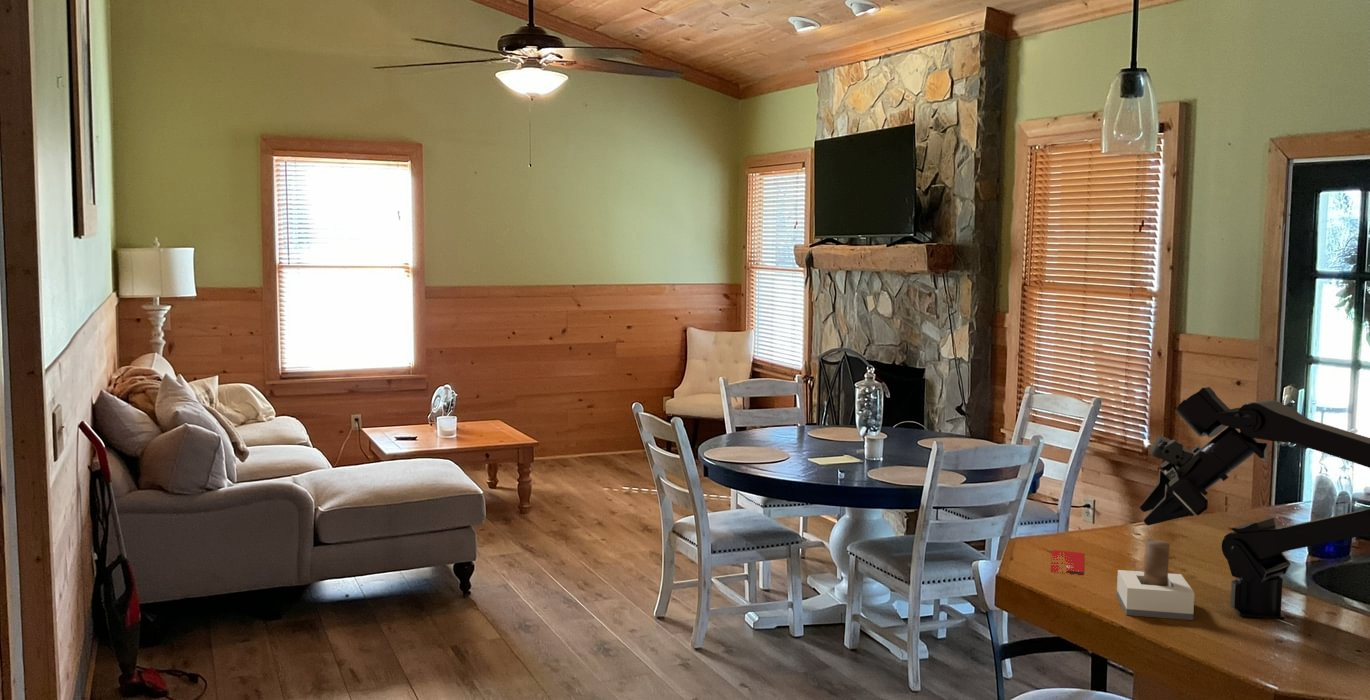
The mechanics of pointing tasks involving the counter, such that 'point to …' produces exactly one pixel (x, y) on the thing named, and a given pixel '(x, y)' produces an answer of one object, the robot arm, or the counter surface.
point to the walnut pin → (1156, 562)
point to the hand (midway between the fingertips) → (1143, 516)
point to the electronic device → (1076, 560)
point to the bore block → (1155, 596)
